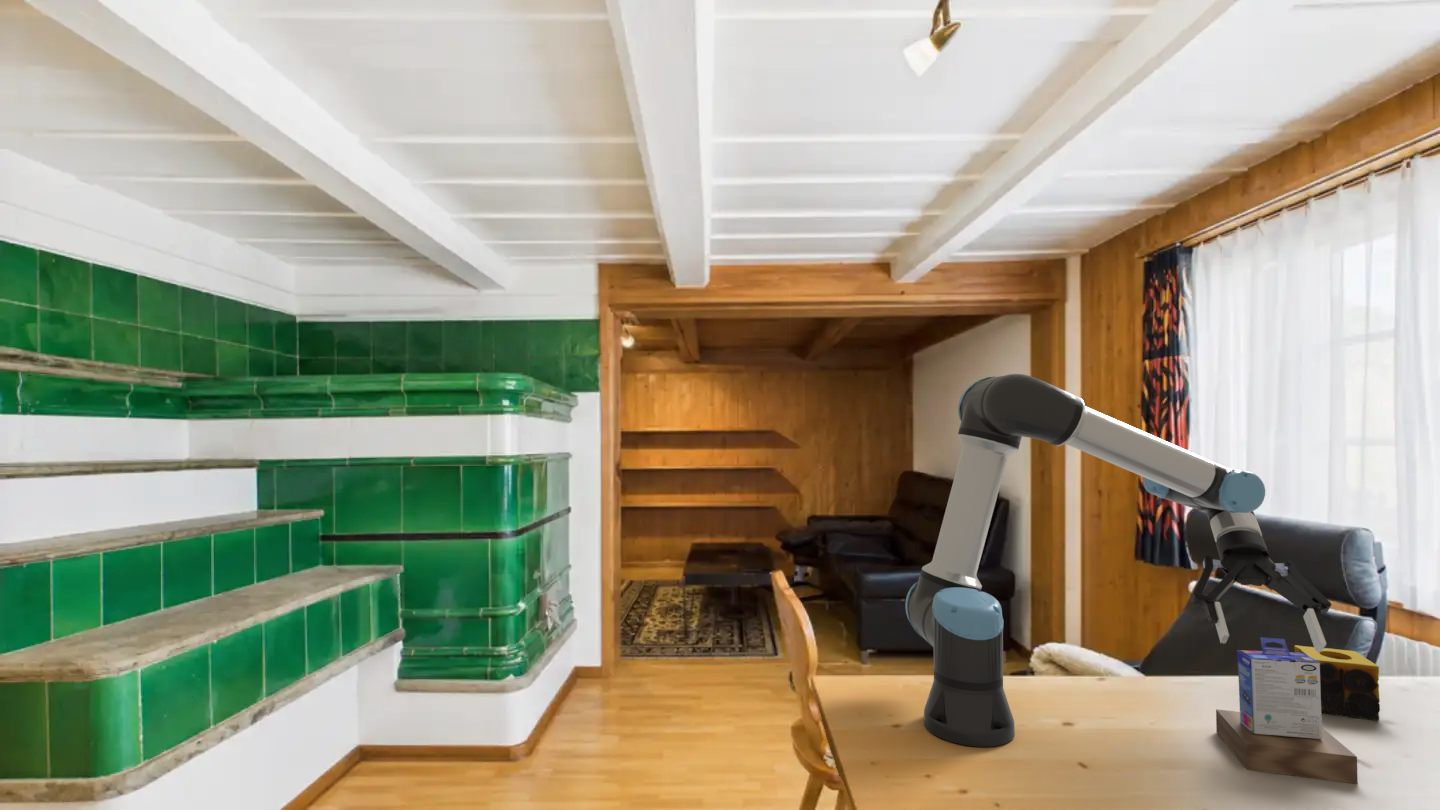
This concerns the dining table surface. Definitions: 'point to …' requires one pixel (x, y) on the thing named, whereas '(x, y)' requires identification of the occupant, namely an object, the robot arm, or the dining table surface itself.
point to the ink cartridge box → (1279, 692)
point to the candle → (1346, 683)
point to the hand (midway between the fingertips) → (1272, 643)
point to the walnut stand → (1287, 751)
